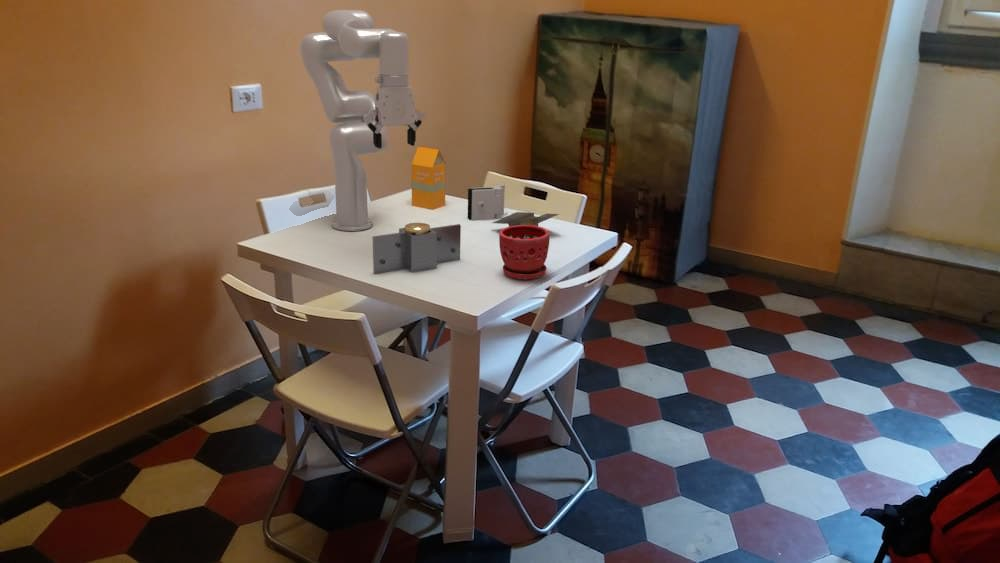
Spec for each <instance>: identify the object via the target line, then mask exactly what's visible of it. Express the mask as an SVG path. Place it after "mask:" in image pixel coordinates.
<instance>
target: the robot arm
mask: <svg viewBox="0 0 1000 563" xmlns="http://www.w3.org/2000/svg"><path fill="white" fill-rule="evenodd" d="M321 26H322V30H323V31H321V32H313V33H309V34H307V35H305V36H304V37H303V38H302V40H301V43H300V55H301V60H302V62H303V63H302V64H303V66H304V68H305V69H306V72H307V74H308V75H309V76H310V78H311V79H312V82H313V84H314V85H315V88H316V91H317V93H318V96H319V99H320V102H321V104H322V107H323V111H324V113H325V115H326V118H327V120H328V121H329V122H330V123H332V124H337V125H335V126H334V127H332V128H331V130H330V132H329V137H328V138H329V144H330V148H331V152H332V158H333V160H332V161H333V167H334V168H333V169H334V170H333V171H334V172H333V173H334V185H335V186H334V190H335V192H334V193H335V209H336V212H335V213H336V219H333V220H332V221H331V227H332V229H333V228H334V229H335V230H338V231H343V232H344V231H345V232H360V231H364V230H368V229H370V228H372V227H373V225H374V221H373V220H372V219H371V218H369V217H368V216H369V215H368V183H367V182H368V180H367V168H366V166H365V164H364V163H363V162H362V161H361V159H360V157H359V156H360V155H361V156H362V155H367V154H378V153H382V152H384V151H385V150H386V149H387V147H388V144H389V135H388V131H387V128H388V127H401V126H402V127H403V126H407V127H408V128H407V131H406V132H407V135H406V136H407V144H408V145H410V146H412V147H413V146H414V147H415V144H416V138H417V137H416V135H417V134H416V132H417V131H418V129H419V127H420V126H421V124H422V123H423V120H424V118H425V113H424V112H422V111H421V110H418V109H417V108H415V99H414V98H415V97H414V90H413V87H412V86H410V85H409V84H410V83H409V82H410V81H409V80H410V78H409V75H410V72H409V67H410V66H409V60H410V59H409V36H408V35H407V34H406V33H405V32H401V31H396V30H395V29H392V28H374V27H375V26H374V20H373V18H372V16H371V15H370V14H369V13H368V12H367V11H365V10H363V9H334V10H331V11H329V12H328V13H326V14H324V17H323V19H322V21H321ZM357 59H359V60H362V59H365V60H366V59H368V60H369V59H370V60H371V59H379V62H378V63H379V73H378V77H377V76H376V77H375V78H374V82H375V84H376V83H378V86H377V87H376V88H377V89H376V93H375V97H374V95H373V94H372V93H371V92H370V91H368V90H364V89H359V90H358V89H357V90H350V89H348V88H347V86H346V83H345V80H344V78H343V76H342V75H341V73H340V72H339V71H338V70H337V69H336V68H335V67H333V66H332V65H330V64H329V62H351V61H355V60H357Z"/></svg>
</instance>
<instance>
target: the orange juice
mask: <svg viewBox="0 0 1000 563" xmlns="http://www.w3.org/2000/svg"><path fill="white" fill-rule="evenodd" d="M440 150H441V149H440V148H434V147H428V146H423V145H422V146H421V145H418V146H417V148H416V152H415V154H414V158H413V159H412V163H410V165H411V166H410V167H411V185H410V186H411V206H412V207H416V208H421V209H426V210H431V211H433V210H436V209H439V208H441V207H444V206H446V187H447V186H446V184H447V183H446V172H447V171H446V166H447V165H446V161H445V159H444V157H443V155H442V152H441V151H440Z"/></svg>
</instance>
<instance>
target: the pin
mask: <svg viewBox="0 0 1000 563" xmlns="http://www.w3.org/2000/svg"><path fill="white" fill-rule="evenodd" d="M404 228H405V232H407V233H410V234H412V235H415V234H425V233H428V232H430V228H431V226H430V224H428V223H426V222H409V223H407V224H405V225H404Z"/></svg>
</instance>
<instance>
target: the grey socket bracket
mask: <svg viewBox="0 0 1000 563" xmlns="http://www.w3.org/2000/svg"><path fill="white" fill-rule="evenodd" d="M461 228H462V226H461V224H460V223H457V224H450V225H443V226H438V227H436V226H435V227H430V232H428V233H425V234H415V235H412V234H410V233H407V232H405V227H400V228H398V232H395V233H388V234H381V235H374V236H372V262H373V263H372V265H373V266H372V268H373V269H372V270H373V274H374V275H376V274H382V273H387V272H394V271H399V270H405V269H406V270H407V271H409V272H410V273H416V272H417V273H418V272H421V271H427V270H429V271H430V270H433V269H438V264H441V263H442V264H443V263H446V262H453V261H458V260H461V234H462V233H461Z"/></svg>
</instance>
